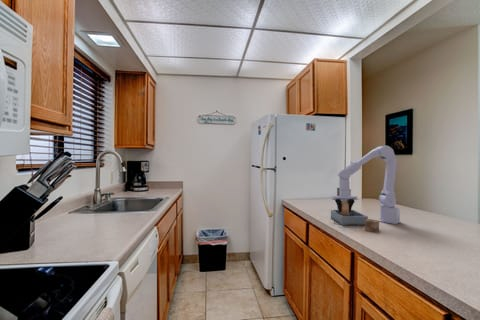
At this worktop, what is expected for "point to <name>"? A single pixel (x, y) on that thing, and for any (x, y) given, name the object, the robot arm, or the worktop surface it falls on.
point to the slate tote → (349, 218)
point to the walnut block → (371, 225)
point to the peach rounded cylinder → (344, 209)
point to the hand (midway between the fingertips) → (344, 211)
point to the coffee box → (342, 198)
